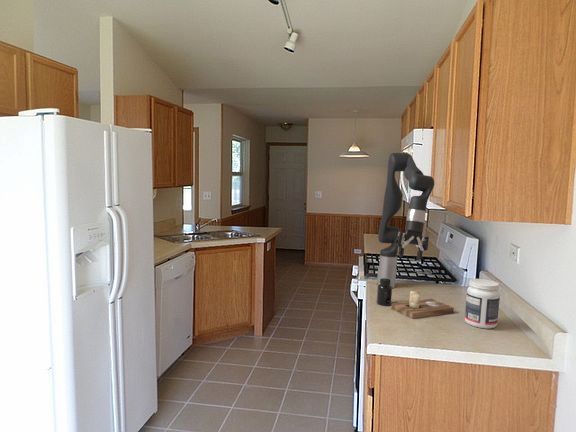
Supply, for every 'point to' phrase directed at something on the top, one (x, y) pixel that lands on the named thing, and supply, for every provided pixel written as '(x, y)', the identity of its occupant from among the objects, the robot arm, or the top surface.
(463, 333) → the top surface
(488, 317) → the supplement tub
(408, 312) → the walnut board
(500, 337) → the top surface
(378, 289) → the supplement bottle
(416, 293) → the birch peg
